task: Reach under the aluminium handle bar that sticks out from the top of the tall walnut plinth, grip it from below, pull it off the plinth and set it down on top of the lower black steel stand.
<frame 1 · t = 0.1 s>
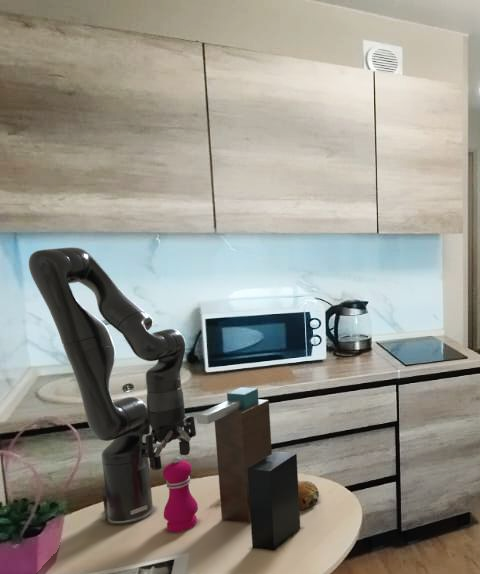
hand: (170, 461, 155), 17 cm above the table, tool pointing down, fingers open, 8 cm apart
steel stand: (277, 538, 152), on the table
plinth: (249, 511, 163), on the table
handle bar: (227, 412, 153), point 32 cm above the table, touching plinth
pepper mill: (182, 526, 155), on the table
bread roll: (300, 503, 169), on the table
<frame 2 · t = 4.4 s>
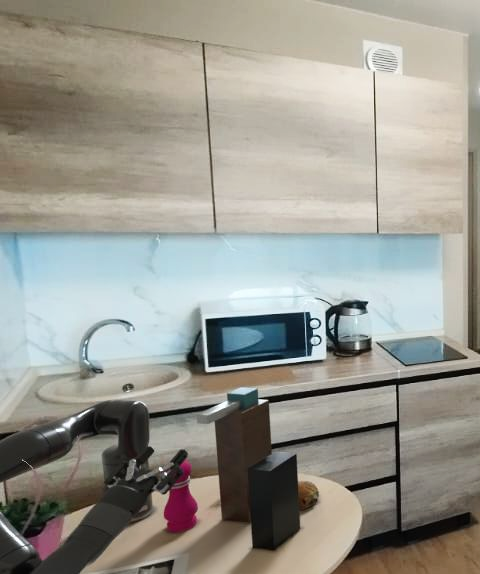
hand: (168, 449, 136), 30 cm above the table, tool pointing upward, fingers open, 8 cm apart
nothing on the table moved.
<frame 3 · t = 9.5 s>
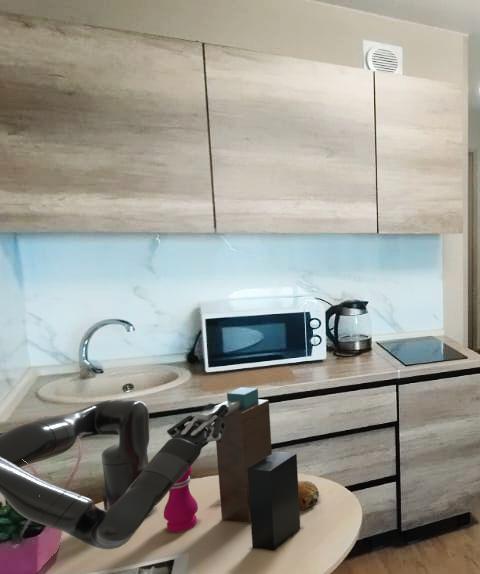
hand: (219, 406, 150), 35 cm above the table, tool pointing upward, fingers closed on handle bar, 3 cm apart
handle bar: (227, 412, 153), point 32 cm above the table, touching gripper, plinth
everything else where it was.
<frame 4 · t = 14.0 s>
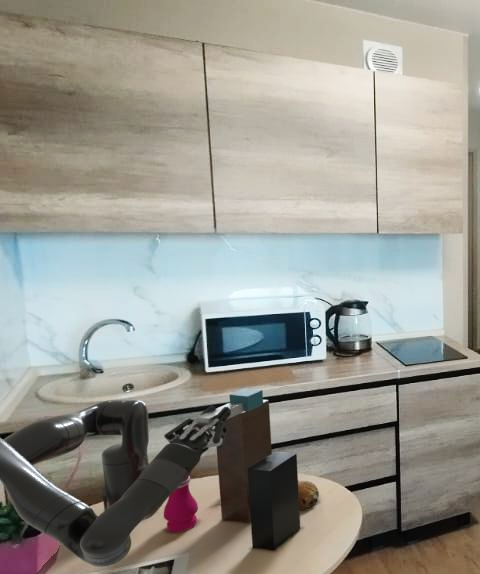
hand: (221, 408, 139), 38 cm above the table, tool pointing upward, fingers closed on handle bar, 3 cm apart
handle bar: (229, 415, 142), point 36 cm above the table, touching gripper
everything else where it was.
when the fingers open (25 cm above the table, at t = 18.9 s): handle bar stays where it is, resting on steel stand.
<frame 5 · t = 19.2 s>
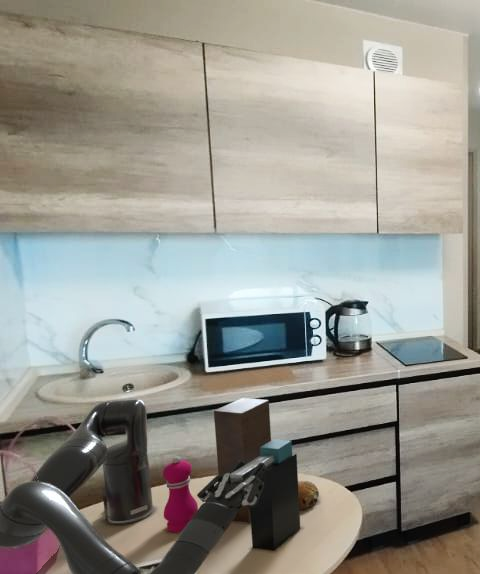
hand: (252, 463, 141), 25 cm above the table, tool pointing upward, fingers open, 5 cm apart
handle bar: (261, 468, 144), point 22 cm above the table, touching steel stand
everything else where it was.
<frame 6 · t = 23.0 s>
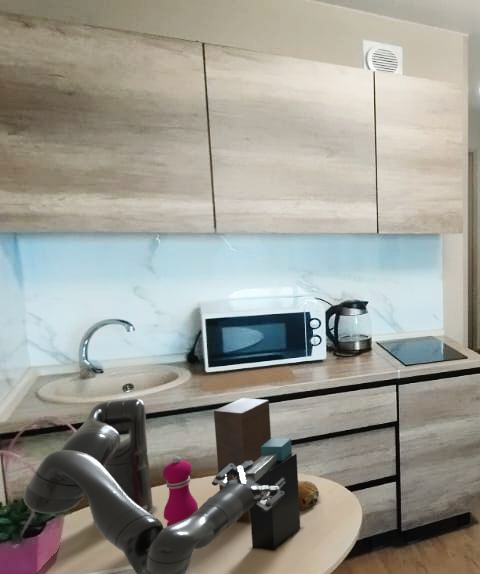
hand: (266, 472, 142), 22 cm above the table, tool horizontal, fingers open, 8 cm apart
handle bar: (266, 466, 145), point 22 cm above the table, touching gripper
everything else where it was.
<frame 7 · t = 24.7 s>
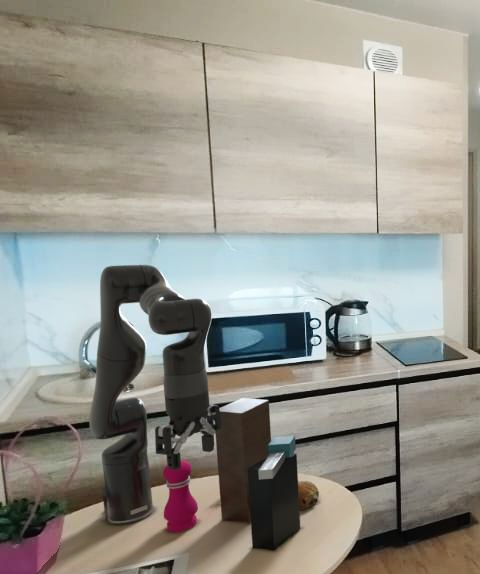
hand: (192, 459, 127), 32 cm above the table, tool pointing down, fingers open, 8 cm apart
handle bar: (276, 463, 147), point 22 cm above the table, touching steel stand
everything else where it was.
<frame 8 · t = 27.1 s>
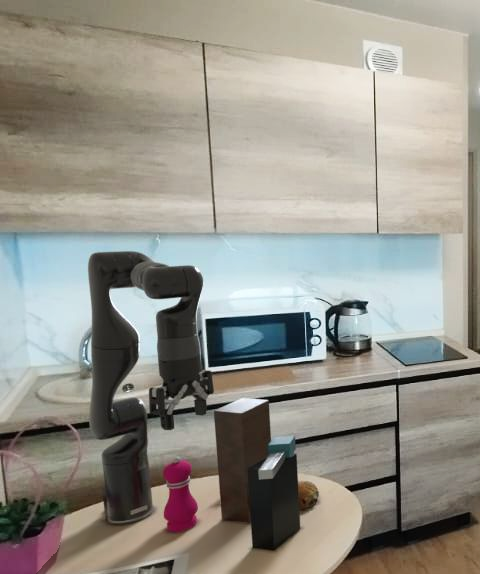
hand: (185, 421, 132), 38 cm above the table, tool pointing down, fingers open, 8 cm apart
nothing on the table moved.
at the end: handle bar inside the target area on the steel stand (2.9 cm from its centre), point 22.0 cm above the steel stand's base; handle bar tilted 0° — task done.
